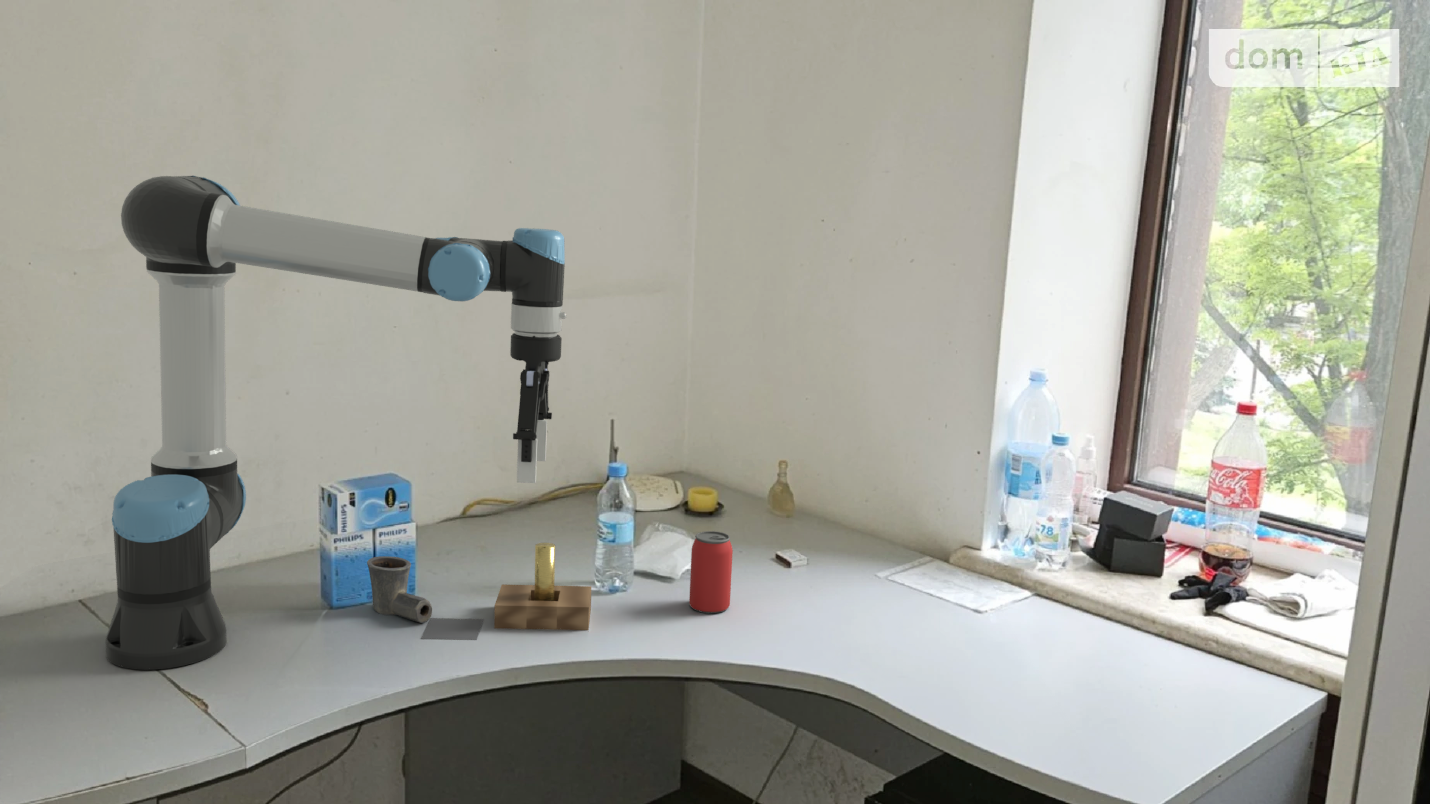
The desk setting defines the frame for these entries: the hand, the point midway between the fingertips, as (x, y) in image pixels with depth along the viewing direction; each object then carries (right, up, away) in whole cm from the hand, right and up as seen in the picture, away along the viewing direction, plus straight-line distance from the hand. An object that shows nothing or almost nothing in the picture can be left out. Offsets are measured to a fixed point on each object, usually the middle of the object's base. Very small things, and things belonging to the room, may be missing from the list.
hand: (531, 471), depth 172 cm
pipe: (-20, -22, +1) cm, 30 cm away
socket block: (+2, -23, +1) cm, 23 cm away
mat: (-11, -24, -5) cm, 26 cm away
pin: (+2, -23, +1) cm, 23 cm away
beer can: (+27, -23, +10) cm, 37 cm away
